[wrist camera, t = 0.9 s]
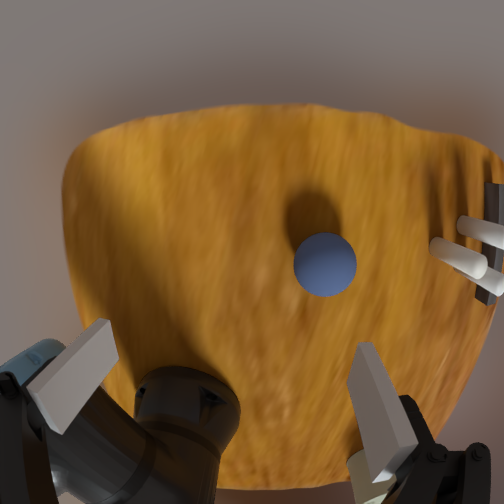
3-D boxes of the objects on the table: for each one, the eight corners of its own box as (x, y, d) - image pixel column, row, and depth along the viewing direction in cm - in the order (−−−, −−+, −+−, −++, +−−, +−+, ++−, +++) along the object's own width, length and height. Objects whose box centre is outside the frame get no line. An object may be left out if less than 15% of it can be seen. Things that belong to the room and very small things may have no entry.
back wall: (474, 297, 28) (486, 305, 26) (484, 182, 25) (499, 183, 22) (483, 295, 28) (495, 303, 25) (492, 183, 24) (507, 184, 22)
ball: (292, 285, 29) (298, 310, 23) (289, 229, 28) (295, 242, 22) (346, 280, 29) (363, 303, 23) (346, 226, 27) (366, 237, 21)
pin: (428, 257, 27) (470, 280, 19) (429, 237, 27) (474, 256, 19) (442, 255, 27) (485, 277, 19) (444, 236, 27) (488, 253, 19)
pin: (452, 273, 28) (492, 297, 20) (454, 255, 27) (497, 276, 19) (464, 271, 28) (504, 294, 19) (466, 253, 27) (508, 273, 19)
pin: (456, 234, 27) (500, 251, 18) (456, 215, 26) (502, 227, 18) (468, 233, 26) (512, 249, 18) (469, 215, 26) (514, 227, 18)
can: (351, 449, 36) (364, 501, 25) (397, 439, 36) (415, 486, 24) (342, 471, 39) (351, 517, 27) (383, 463, 38) (397, 505, 26)
